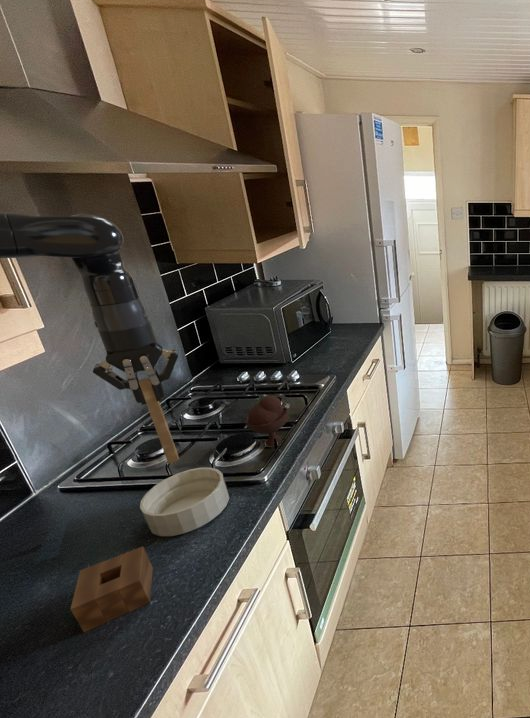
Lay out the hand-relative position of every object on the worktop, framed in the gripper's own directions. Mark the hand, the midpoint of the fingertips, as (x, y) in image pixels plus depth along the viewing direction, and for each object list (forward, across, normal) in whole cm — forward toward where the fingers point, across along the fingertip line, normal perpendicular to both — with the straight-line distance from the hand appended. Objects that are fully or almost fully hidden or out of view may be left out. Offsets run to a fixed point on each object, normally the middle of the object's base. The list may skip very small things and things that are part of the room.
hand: (152, 400), depth 86 cm
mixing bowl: (+30, 0, 0) cm, 30 cm away
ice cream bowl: (+30, -20, -18) cm, 40 cm away
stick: (+15, 0, 0) cm, 15 cm away
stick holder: (+30, +11, +18) cm, 37 cm away
